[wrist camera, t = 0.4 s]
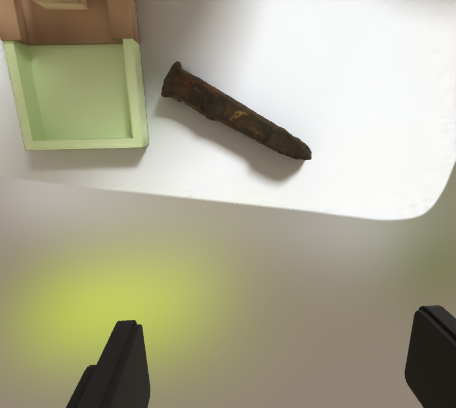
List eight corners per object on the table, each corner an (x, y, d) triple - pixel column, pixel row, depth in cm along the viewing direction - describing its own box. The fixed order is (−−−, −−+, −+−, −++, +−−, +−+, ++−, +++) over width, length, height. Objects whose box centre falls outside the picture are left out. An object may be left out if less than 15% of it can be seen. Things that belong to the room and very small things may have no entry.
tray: (21, 47, 34) (2, 40, 31) (139, 44, 35) (132, 38, 32) (41, 147, 38) (25, 150, 34) (149, 144, 38) (143, 147, 35)
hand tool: (162, 94, 37) (154, 92, 32) (178, 62, 36) (172, 55, 31) (293, 174, 40) (303, 182, 36) (311, 147, 39) (323, 152, 35)
